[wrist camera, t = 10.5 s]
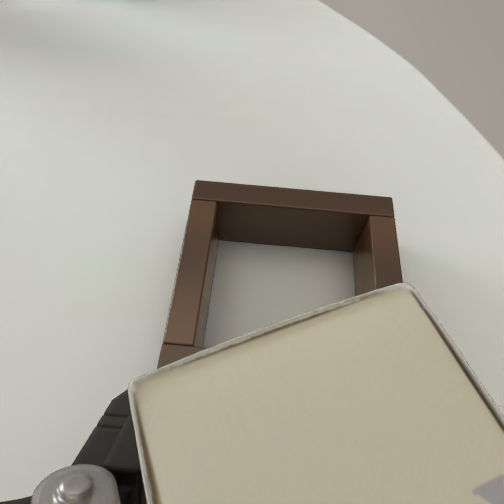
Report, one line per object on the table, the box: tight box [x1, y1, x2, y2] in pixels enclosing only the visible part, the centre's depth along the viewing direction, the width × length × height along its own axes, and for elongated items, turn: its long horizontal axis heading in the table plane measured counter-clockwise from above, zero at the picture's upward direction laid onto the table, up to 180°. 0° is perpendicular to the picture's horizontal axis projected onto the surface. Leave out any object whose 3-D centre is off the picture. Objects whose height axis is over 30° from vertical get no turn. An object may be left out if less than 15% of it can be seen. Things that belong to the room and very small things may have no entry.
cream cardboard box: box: [128, 283, 504, 504], centre depth 10 cm, size 5×4×10 cm
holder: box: [157, 180, 403, 369], centre depth 17 cm, size 18×9×3 cm, turn 175°
